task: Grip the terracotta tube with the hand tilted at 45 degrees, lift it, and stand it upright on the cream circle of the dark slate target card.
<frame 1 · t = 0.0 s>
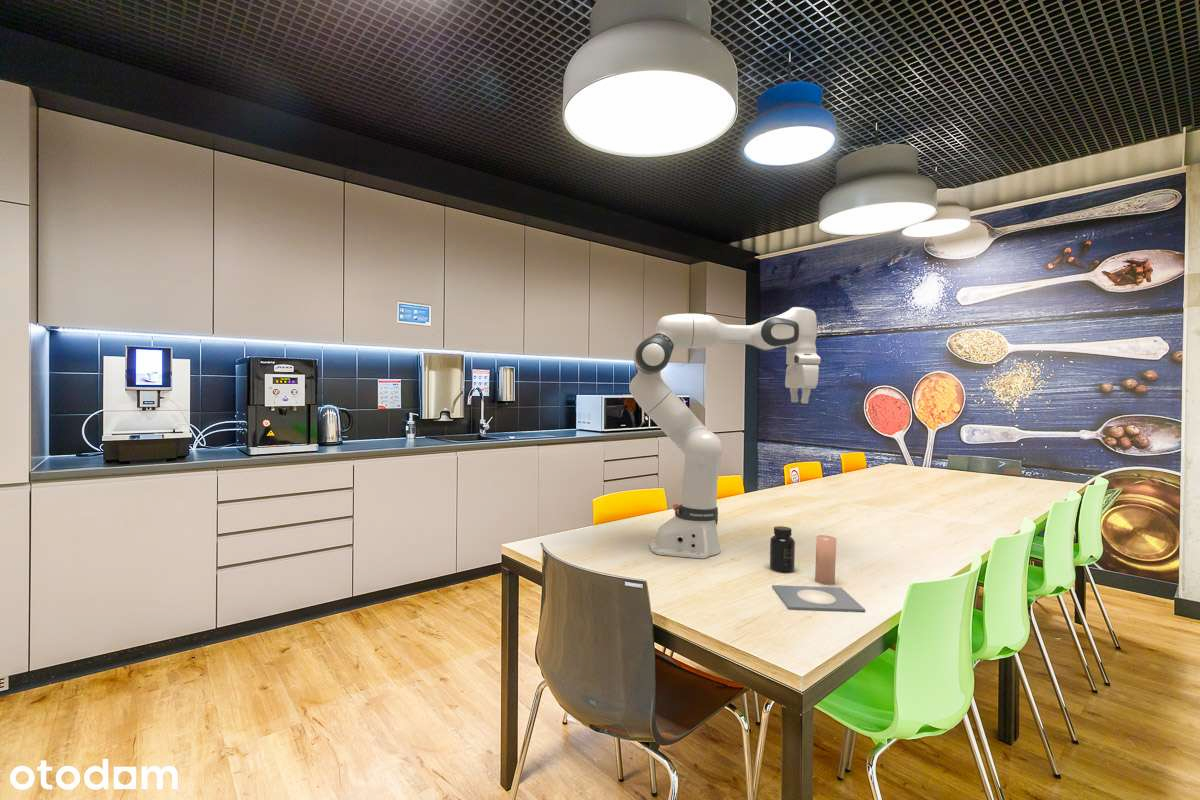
hand: (799, 402, 173), 48 cm above the table, tool pointing down, fingers open, 8 cm apart
terracotta tube: (824, 581, 150), on the table
supplement bottle: (781, 569, 159), on the table
target card: (816, 599, 137), on the table
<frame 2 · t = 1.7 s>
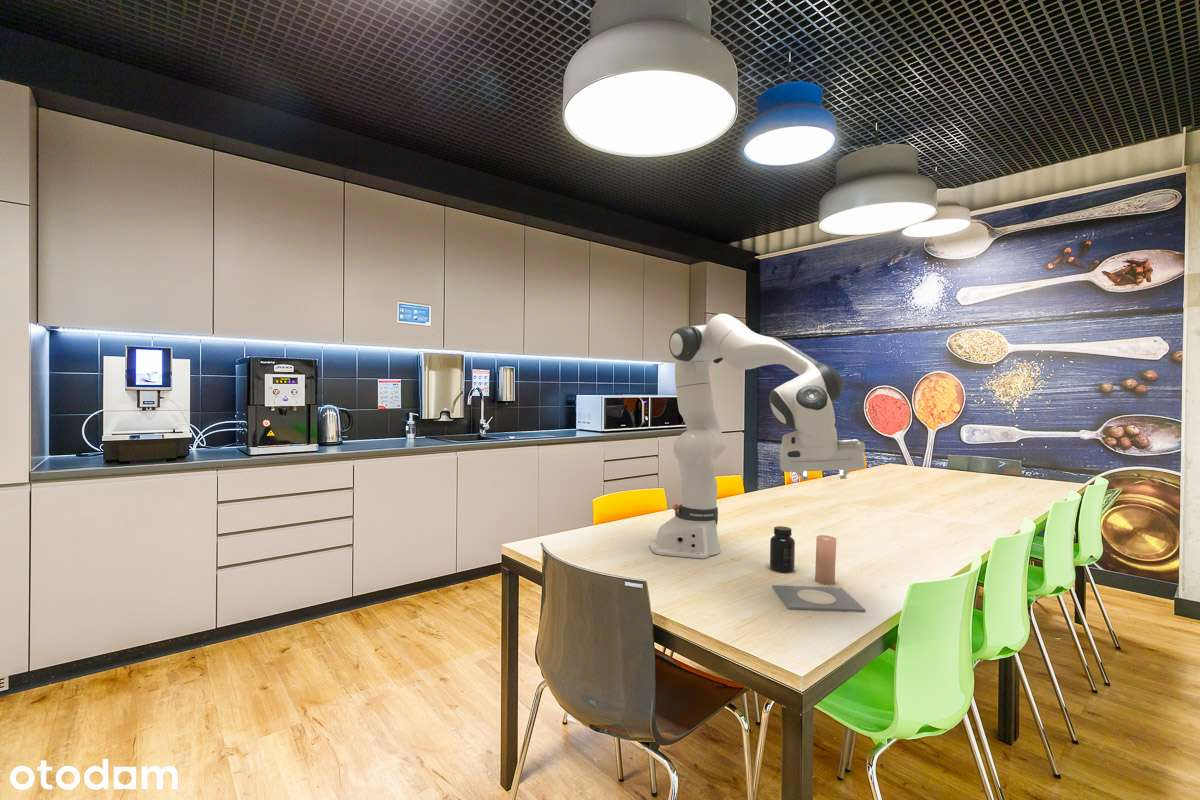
hand: (823, 477, 144), 29 cm above the table, tool tilted 45°, fingers open, 8 cm apart
nothing on the table moved.
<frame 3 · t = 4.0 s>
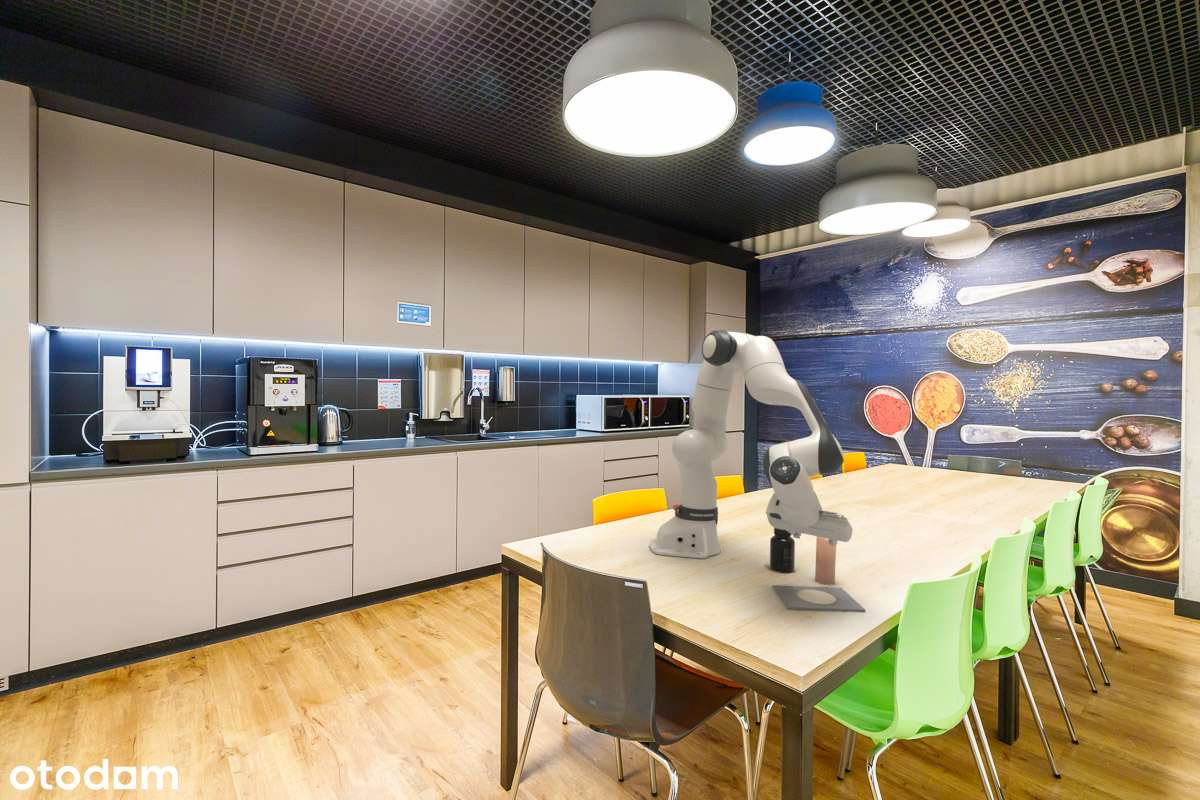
hand: (815, 539, 143), 13 cm above the table, tool tilted 45°, fingers open, 8 cm apart
nothing on the table moved.
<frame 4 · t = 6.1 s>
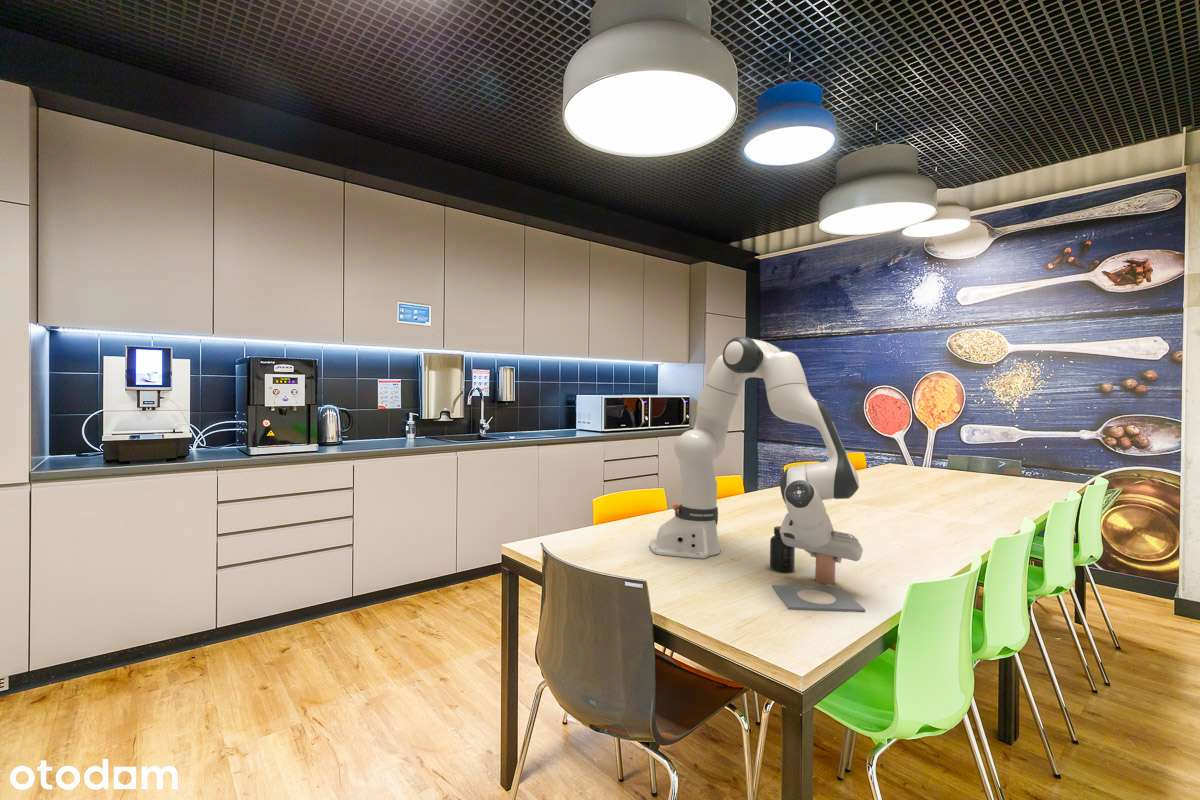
hand: (826, 557, 150), 6 cm above the table, tool tilted 45°, fingers closed on terracotta tube, 5 cm apart
terracotta tube: (824, 581, 150), on the table, touching gripper
everything else where it was.
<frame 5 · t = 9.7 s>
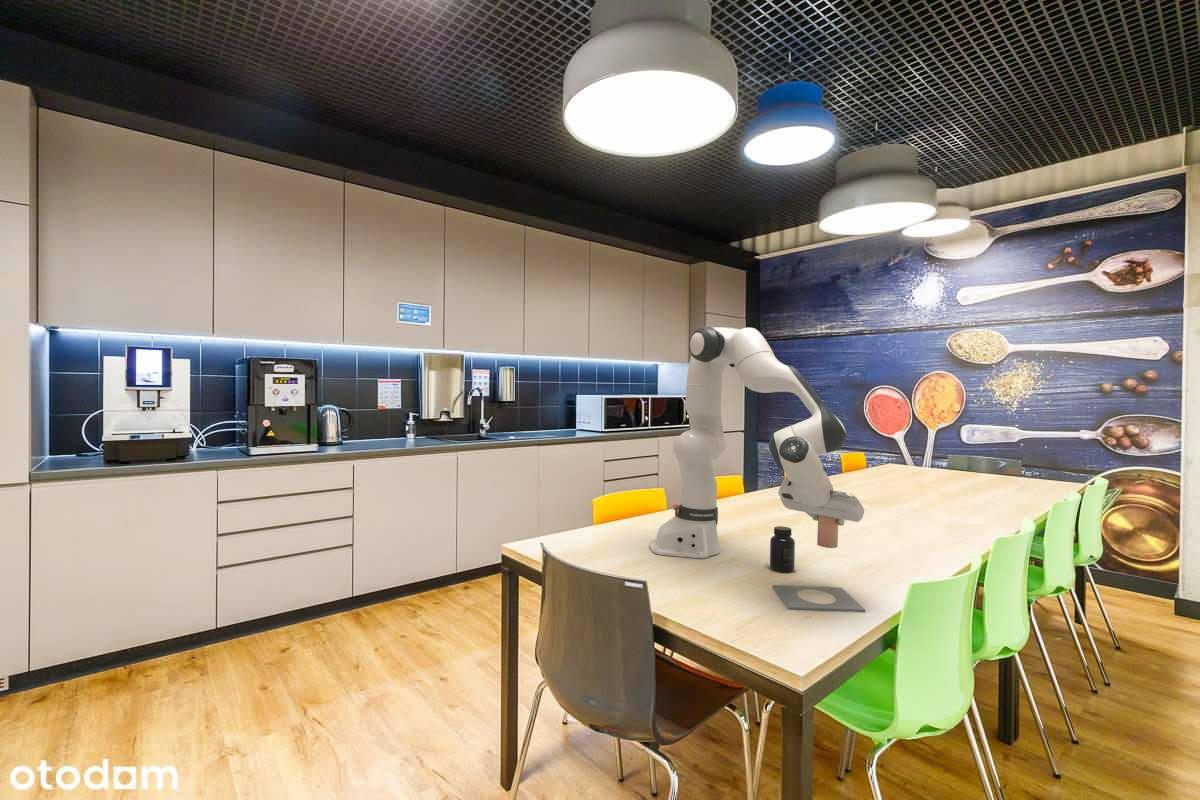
hand: (829, 520, 145), 18 cm above the table, tool tilted 45°, fingers closed on terracotta tube, 5 cm apart
terracotta tube: (827, 545, 145), point 11 cm above the table, touching gripper
everything else where it was.
when the fingers open (8 cm above the table, at t = 13.3 s): terracotta tube stays where it is, resting on target card.
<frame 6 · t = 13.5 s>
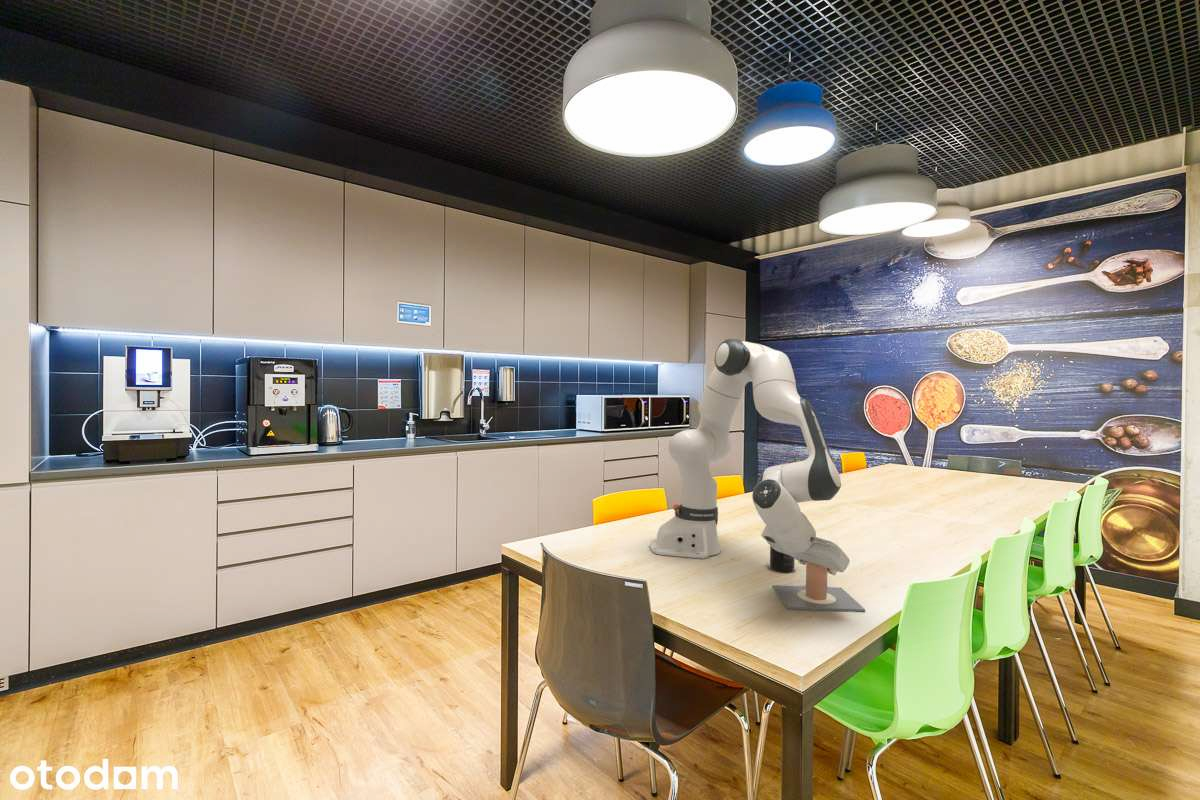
hand: (818, 567, 137), 8 cm above the table, tool tilted 45°, fingers open, 7 cm apart
terracotta tube: (816, 596, 137), point 1 cm above the table, touching target card
everything else where it was.
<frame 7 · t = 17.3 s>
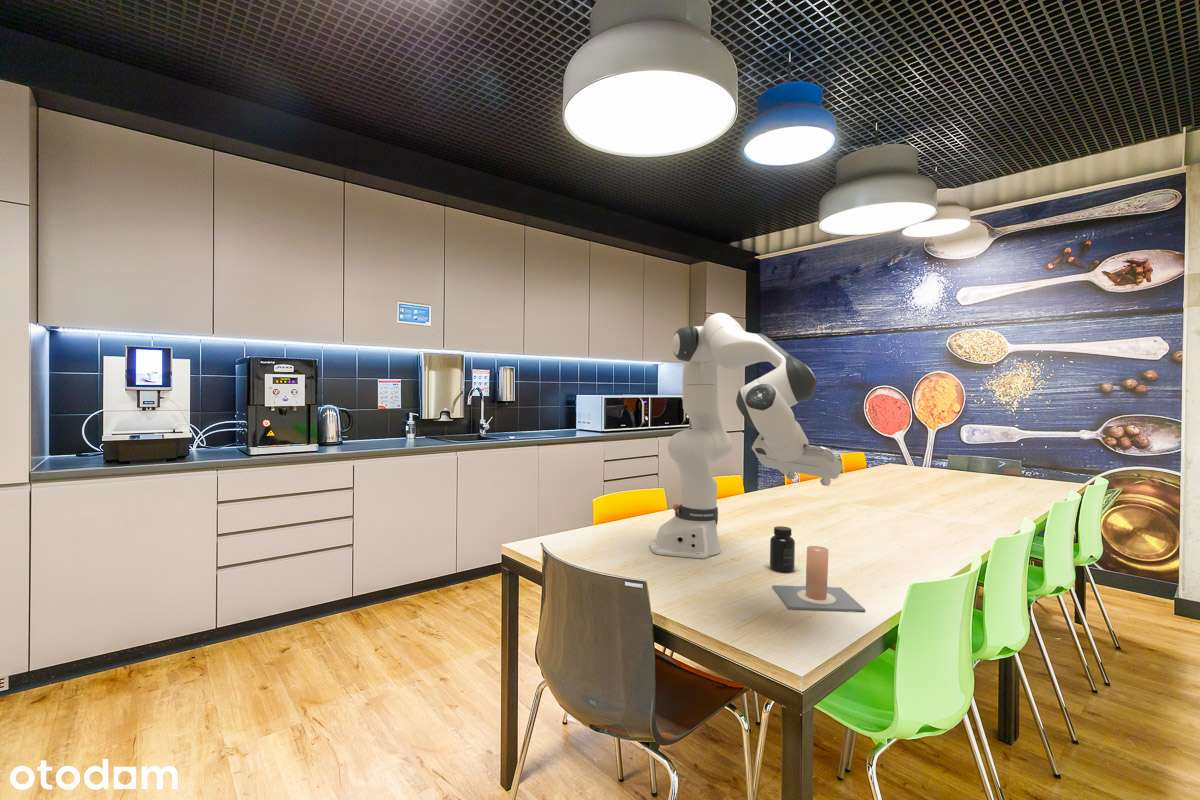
hand: (808, 480, 134), 30 cm above the table, tool tilted 45°, fingers open, 8 cm apart
nothing on the table moved.
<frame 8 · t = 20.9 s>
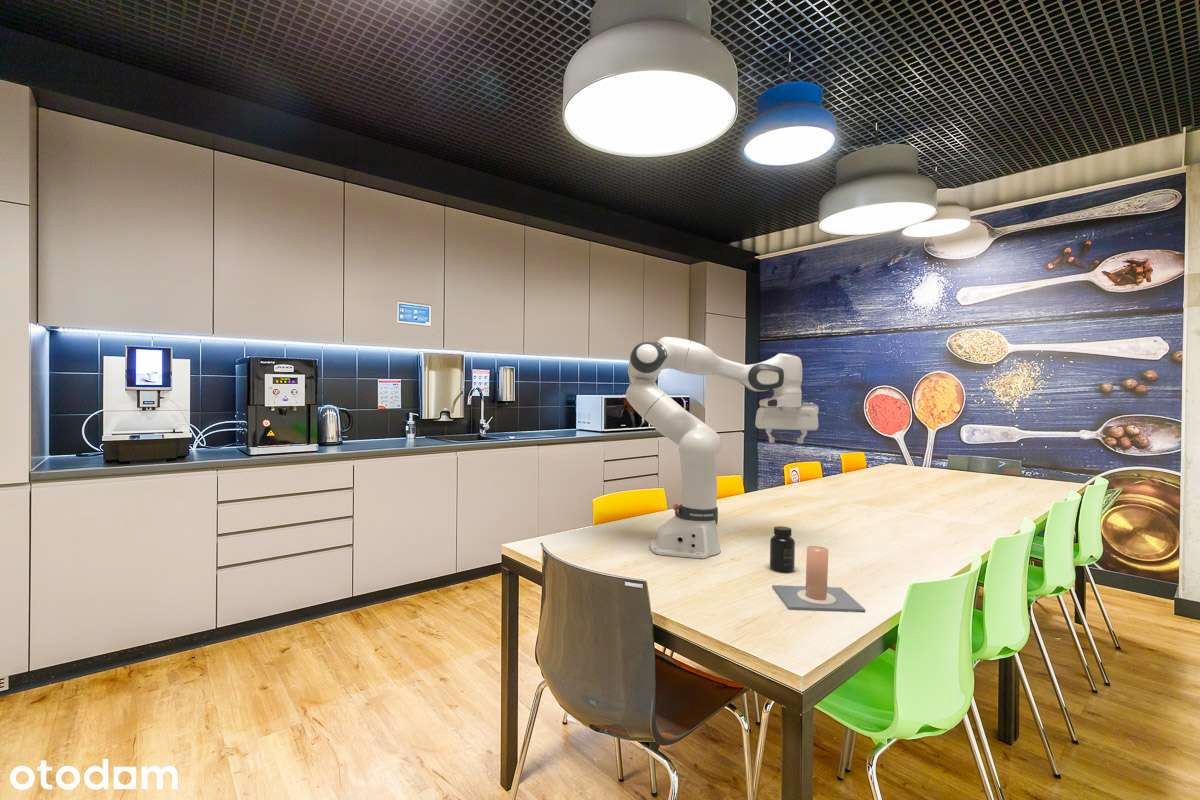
hand: (785, 443, 184), 34 cm above the table, tool pointing down, fingers open, 8 cm apart
nothing on the table moved.
at the end: terracotta tube inside the target area on the target card (0.1 cm from its centre), point 0.7 cm above the target card's base; terracotta tube tilted 0°; the gripper is holding nothing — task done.
